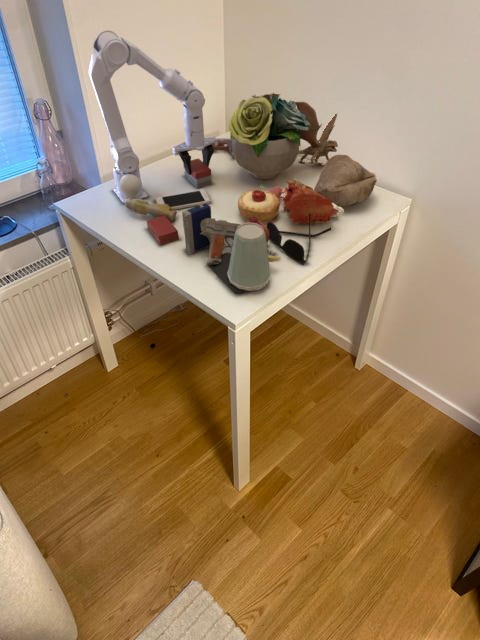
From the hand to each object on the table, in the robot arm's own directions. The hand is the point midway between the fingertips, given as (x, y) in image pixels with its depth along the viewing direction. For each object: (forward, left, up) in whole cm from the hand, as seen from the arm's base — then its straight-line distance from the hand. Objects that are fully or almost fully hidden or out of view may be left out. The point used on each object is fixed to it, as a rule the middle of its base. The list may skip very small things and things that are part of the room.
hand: (197, 171), depth 155 cm
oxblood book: (0, 0, 0) cm, 0 cm away
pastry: (+28, +6, -3) cm, 29 cm away
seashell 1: (+34, +10, +4) cm, 35 cm away
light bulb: (+6, -25, -3) cm, 26 cm away
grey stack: (0, 0, -3) cm, 3 cm away
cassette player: (+34, -16, -3) cm, 38 cm away
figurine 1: (+14, -22, -2) cm, 26 cm away
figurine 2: (+28, +12, -3) cm, 30 cm away
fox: (+50, -8, -1) cm, 51 cm away
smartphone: (+10, -10, -3) cm, 14 cm away
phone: (+48, -14, -3) cm, 50 cm away
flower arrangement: (+8, +21, -3) cm, 22 cm away
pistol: (+43, -11, -5) cm, 45 cm away
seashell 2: (+34, +32, -3) cm, 46 cm away
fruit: (+42, -4, -3) cm, 43 cm away
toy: (+45, 0, -3) cm, 45 cm away
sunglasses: (+45, +9, -3) cm, 46 cm away
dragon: (+11, +36, -2) cm, 37 cm away
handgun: (-9, +13, -1) cm, 16 cm away
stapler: (+37, +23, +1) cm, 43 cm away
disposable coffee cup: (+54, -12, +12) cm, 57 cm away
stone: (+31, -8, -3) cm, 32 cm away
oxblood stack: (+23, -22, -3) cm, 32 cm away
